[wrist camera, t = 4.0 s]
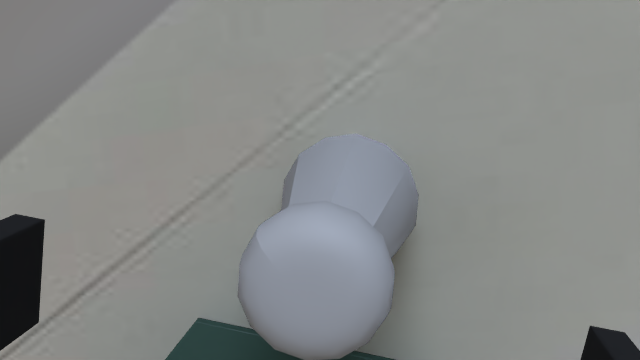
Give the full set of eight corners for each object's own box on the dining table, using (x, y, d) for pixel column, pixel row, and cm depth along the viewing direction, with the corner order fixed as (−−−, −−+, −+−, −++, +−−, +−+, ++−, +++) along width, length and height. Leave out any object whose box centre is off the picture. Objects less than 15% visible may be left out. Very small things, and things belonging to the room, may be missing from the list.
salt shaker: (410, 120, 27) (412, 175, 15) (424, 243, 28) (437, 393, 16) (283, 136, 28) (182, 201, 16) (301, 254, 29) (220, 405, 17)
